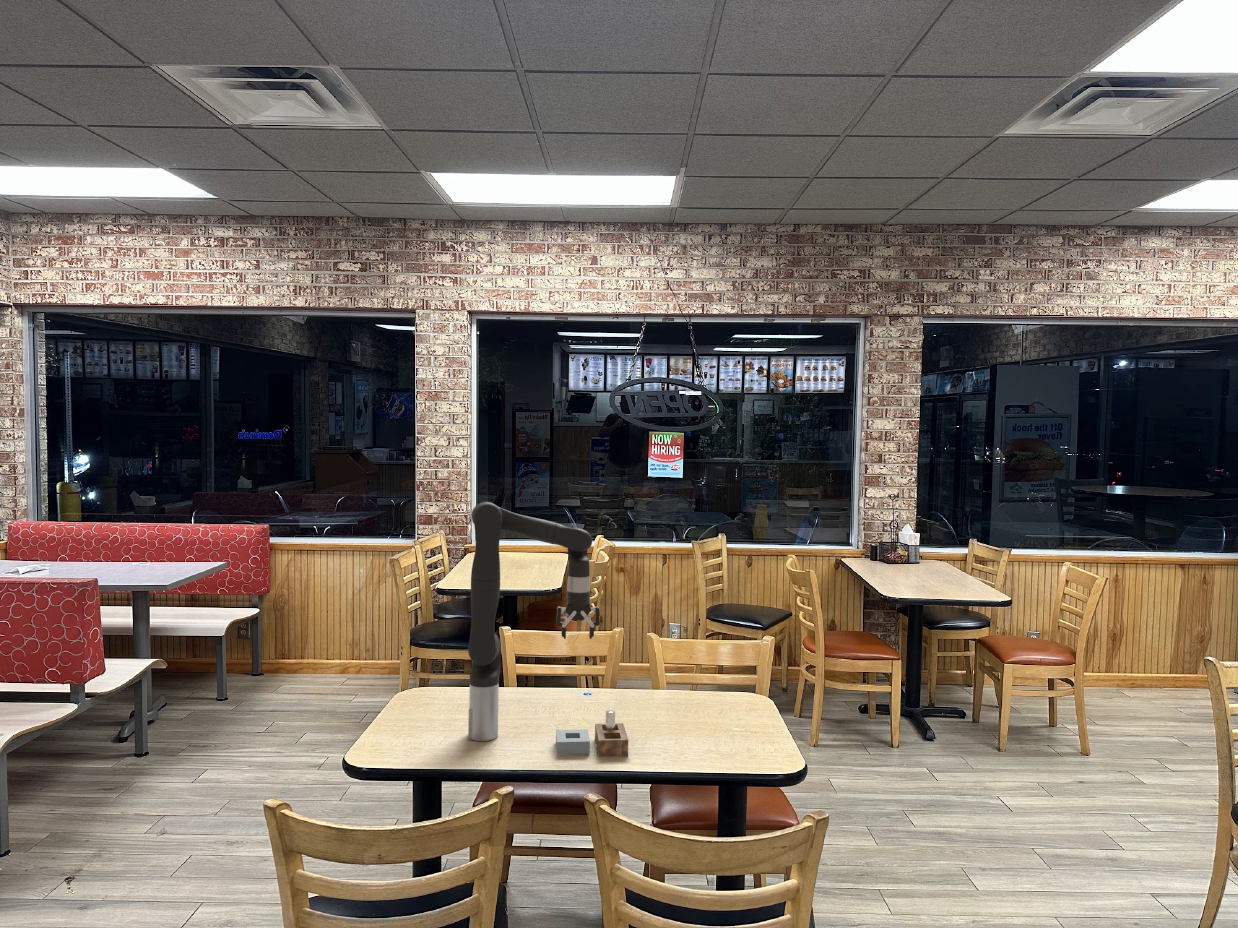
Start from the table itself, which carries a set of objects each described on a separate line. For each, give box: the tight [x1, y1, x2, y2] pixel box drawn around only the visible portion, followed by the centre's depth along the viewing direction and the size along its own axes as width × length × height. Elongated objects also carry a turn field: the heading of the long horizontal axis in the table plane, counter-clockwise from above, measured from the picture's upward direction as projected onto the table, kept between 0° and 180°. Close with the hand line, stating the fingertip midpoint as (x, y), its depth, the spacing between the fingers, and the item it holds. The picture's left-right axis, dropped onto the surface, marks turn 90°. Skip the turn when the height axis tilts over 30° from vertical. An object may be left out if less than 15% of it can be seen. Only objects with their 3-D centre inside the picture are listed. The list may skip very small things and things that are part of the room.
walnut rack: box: [594, 722, 629, 758], centre depth 244 cm, size 9×14×5 cm, turn 6°
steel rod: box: [605, 709, 616, 730], centre depth 248 cm, size 3×3×10 cm
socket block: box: [555, 728, 591, 756], centre depth 243 cm, size 10×10×4 cm
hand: (577, 638), depth 259 cm, fingers open, 8 cm apart
